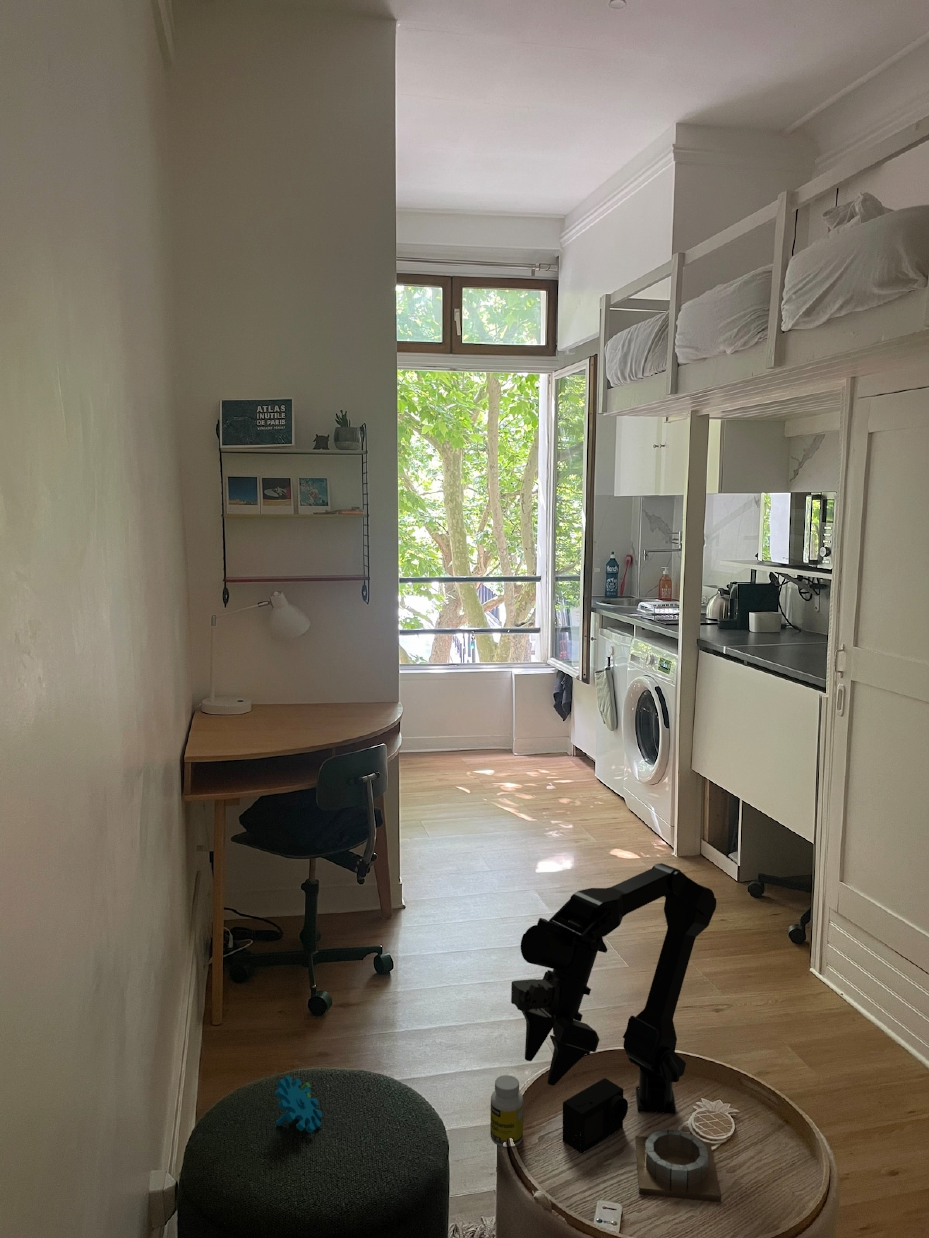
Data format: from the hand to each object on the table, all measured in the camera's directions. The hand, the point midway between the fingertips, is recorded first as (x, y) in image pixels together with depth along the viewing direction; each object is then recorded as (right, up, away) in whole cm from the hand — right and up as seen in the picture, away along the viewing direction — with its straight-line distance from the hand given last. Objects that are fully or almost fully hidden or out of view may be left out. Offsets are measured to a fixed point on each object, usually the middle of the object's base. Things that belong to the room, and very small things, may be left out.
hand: (538, 1072), depth 140 cm
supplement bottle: (-5, -15, +8) cm, 18 cm away
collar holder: (+22, -16, +1) cm, 27 cm away
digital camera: (+10, -15, +9) cm, 20 cm away
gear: (-40, -15, +12) cm, 44 cm away
